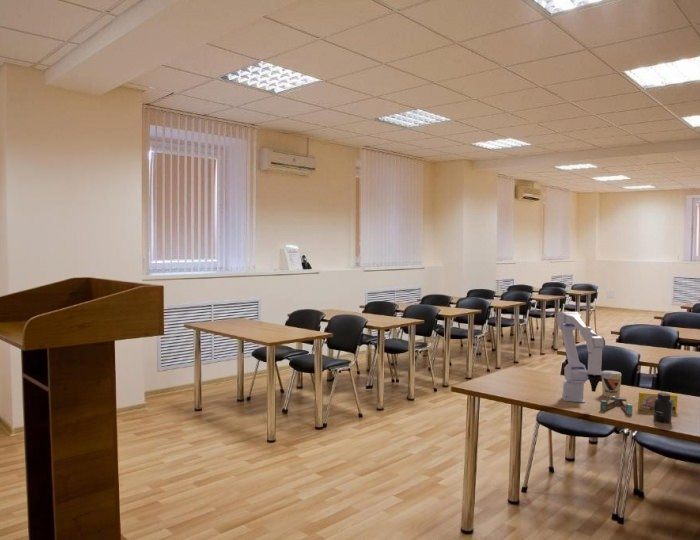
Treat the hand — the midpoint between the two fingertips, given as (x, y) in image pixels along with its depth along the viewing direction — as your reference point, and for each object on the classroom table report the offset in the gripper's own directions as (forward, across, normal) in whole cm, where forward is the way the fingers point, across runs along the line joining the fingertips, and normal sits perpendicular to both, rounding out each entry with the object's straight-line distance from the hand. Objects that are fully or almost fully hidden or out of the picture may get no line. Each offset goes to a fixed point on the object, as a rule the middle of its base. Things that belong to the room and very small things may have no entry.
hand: (593, 391), depth 252 cm
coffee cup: (+8, +13, +30) cm, 34 cm away
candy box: (+9, +29, +9) cm, 32 cm away
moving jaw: (+9, +7, +4) cm, 12 cm away
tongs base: (+9, +13, +5) cm, 16 cm away
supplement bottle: (+9, +27, -8) cm, 30 cm away
